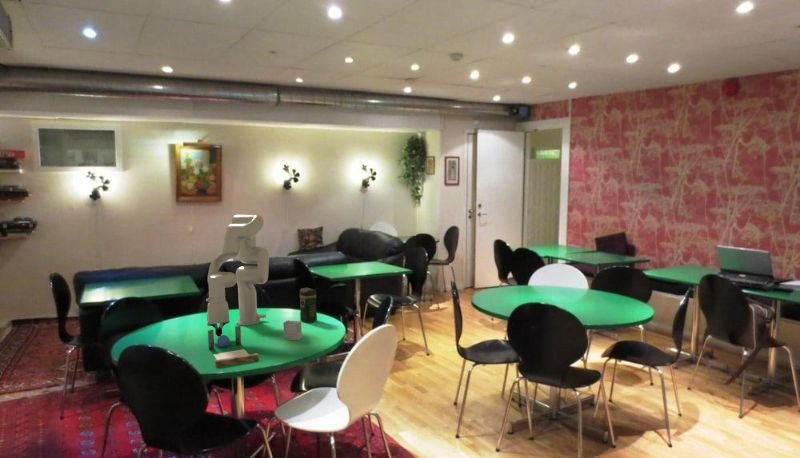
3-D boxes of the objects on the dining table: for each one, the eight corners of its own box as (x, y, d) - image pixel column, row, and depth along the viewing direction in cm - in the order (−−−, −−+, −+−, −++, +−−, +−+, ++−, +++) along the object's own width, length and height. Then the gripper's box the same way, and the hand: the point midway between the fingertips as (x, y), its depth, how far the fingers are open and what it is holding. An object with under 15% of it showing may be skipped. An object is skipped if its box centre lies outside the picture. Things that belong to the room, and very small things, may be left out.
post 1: (213, 347, 259) (212, 329, 258) (214, 349, 257) (213, 330, 256) (208, 348, 258) (207, 330, 257) (209, 350, 256) (208, 331, 255)
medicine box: (302, 338, 273) (301, 321, 272) (297, 340, 269) (297, 323, 268) (288, 336, 276) (287, 320, 275) (283, 339, 271) (283, 322, 271)
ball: (228, 346, 264) (227, 334, 265) (230, 345, 259) (229, 334, 260) (216, 347, 261) (215, 336, 262) (218, 347, 256) (217, 335, 257)
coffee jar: (319, 321, 304) (318, 288, 302) (307, 324, 299) (306, 290, 297) (310, 318, 311) (309, 286, 310) (298, 320, 306) (297, 287, 305)
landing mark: (244, 349, 256) (244, 349, 256) (251, 358, 244) (251, 357, 244) (213, 354, 249) (213, 354, 249) (219, 363, 237) (219, 363, 237)
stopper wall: (257, 358, 243) (257, 353, 243) (258, 360, 241) (258, 354, 241) (215, 365, 234) (215, 360, 234) (216, 367, 233) (215, 361, 232)
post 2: (240, 343, 265) (239, 325, 264) (241, 345, 263) (241, 326, 262) (235, 344, 264) (234, 326, 263) (236, 345, 262) (235, 327, 261)
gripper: (202, 303, 265) (204, 340, 267) (234, 299, 272) (235, 335, 274) (200, 300, 271) (202, 336, 273) (231, 296, 278) (232, 331, 280)
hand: (218, 335), depth 273 cm, fingers closed
